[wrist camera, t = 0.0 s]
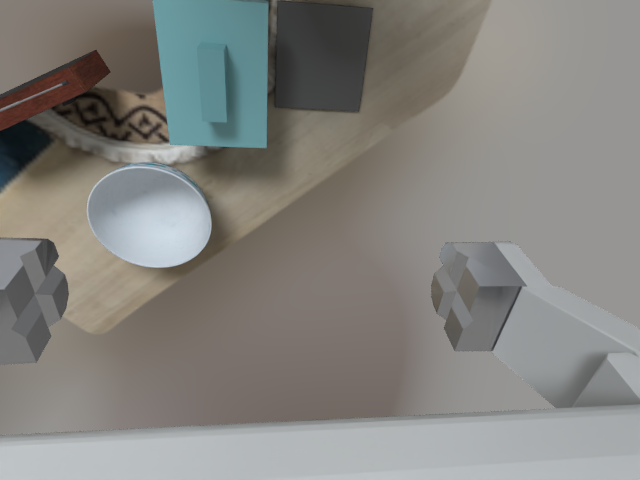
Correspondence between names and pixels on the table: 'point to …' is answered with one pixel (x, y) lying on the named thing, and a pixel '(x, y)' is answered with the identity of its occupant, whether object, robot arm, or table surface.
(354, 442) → the robot arm
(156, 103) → the table surface
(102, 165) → the table surface
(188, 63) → the lid
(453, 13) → the table surface
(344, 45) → the mat
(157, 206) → the chinaware
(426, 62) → the table surface
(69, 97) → the radio
